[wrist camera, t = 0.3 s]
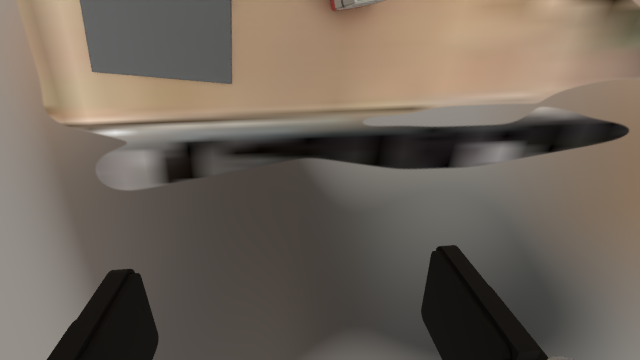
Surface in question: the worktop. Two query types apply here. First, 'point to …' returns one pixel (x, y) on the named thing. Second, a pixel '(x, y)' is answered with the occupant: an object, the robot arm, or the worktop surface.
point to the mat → (160, 38)
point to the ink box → (350, 4)
